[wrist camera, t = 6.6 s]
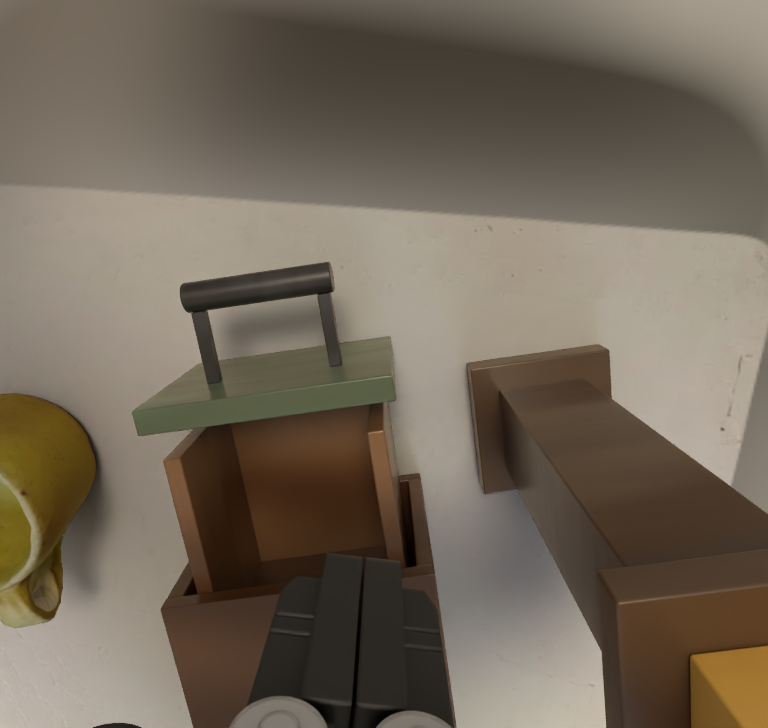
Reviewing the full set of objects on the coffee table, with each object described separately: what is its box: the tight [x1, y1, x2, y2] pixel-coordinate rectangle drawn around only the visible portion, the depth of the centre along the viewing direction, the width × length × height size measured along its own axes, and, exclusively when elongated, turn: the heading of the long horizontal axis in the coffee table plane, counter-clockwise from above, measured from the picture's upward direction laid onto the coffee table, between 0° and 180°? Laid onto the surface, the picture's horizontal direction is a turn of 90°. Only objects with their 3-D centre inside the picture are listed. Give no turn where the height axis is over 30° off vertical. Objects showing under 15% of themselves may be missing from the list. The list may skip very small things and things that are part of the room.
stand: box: [467, 345, 768, 728], centre depth 23 cm, size 8×8×22 cm
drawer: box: [132, 262, 411, 594], centre depth 29 cm, size 18×11×9 cm, turn 8°
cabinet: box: [161, 473, 457, 728], centre depth 32 cm, size 15×13×11 cm
